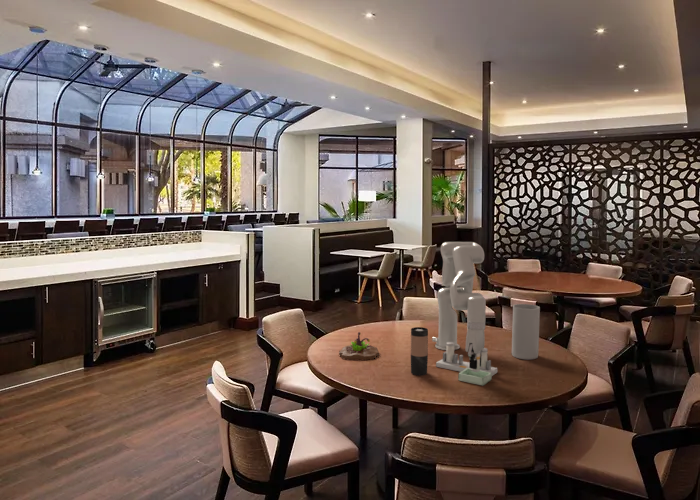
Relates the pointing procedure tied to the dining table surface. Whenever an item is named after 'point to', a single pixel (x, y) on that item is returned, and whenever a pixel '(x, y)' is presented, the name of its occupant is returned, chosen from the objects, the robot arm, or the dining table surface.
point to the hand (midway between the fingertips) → (475, 366)
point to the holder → (461, 364)
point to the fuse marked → (477, 363)
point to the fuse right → (484, 359)
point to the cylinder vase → (525, 331)
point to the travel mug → (419, 350)
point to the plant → (359, 350)
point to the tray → (475, 377)
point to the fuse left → (449, 352)
